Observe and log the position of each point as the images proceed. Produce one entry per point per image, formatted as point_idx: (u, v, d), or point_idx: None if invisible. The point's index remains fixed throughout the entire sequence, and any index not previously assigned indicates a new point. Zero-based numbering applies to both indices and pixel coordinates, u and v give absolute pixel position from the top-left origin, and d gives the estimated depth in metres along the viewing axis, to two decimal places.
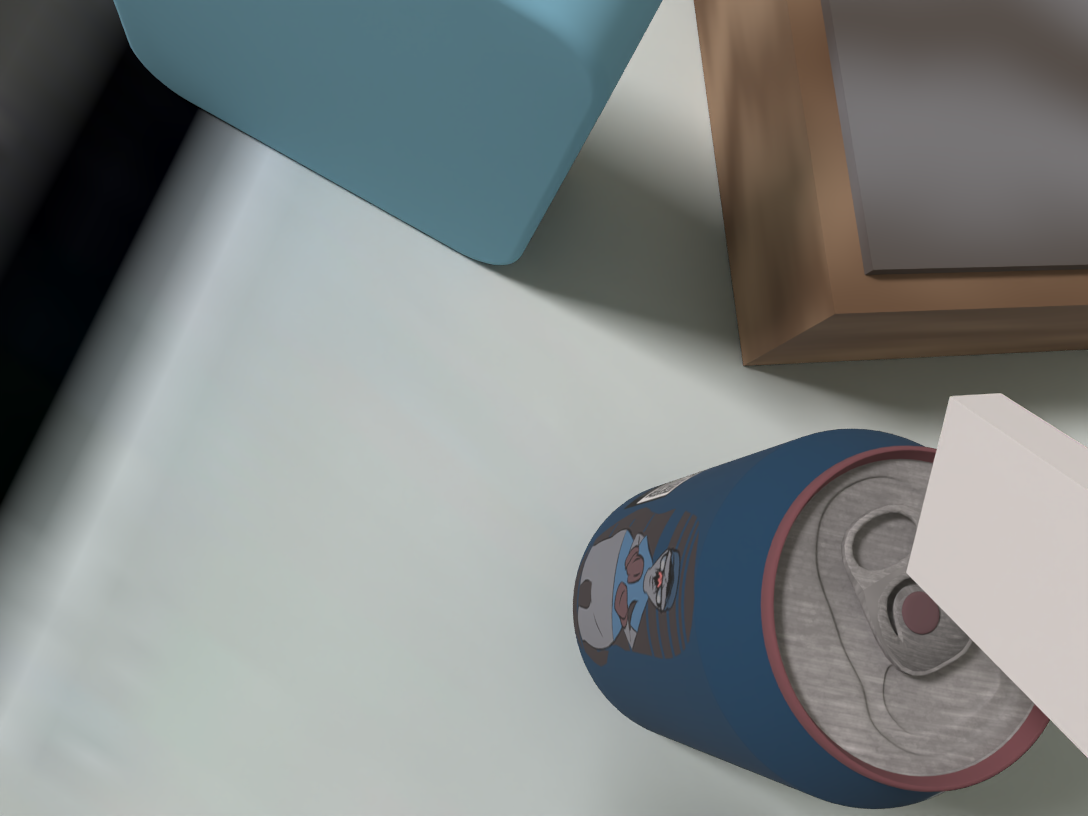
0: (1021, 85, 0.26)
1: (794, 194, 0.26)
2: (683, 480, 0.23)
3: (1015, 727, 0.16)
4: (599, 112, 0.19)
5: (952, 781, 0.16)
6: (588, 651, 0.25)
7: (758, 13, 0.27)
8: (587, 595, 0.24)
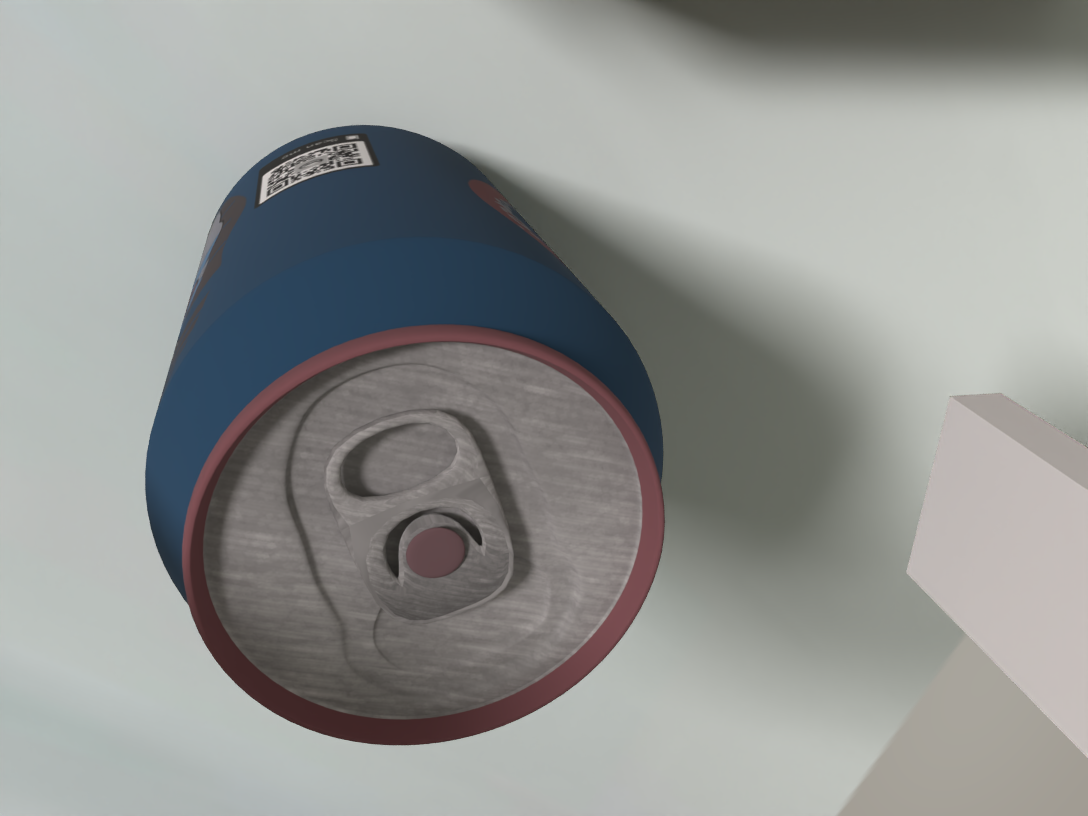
0: None
1: None
2: (294, 180, 0.16)
3: (549, 669, 0.13)
4: None
5: (440, 731, 0.13)
6: None
7: None
8: None
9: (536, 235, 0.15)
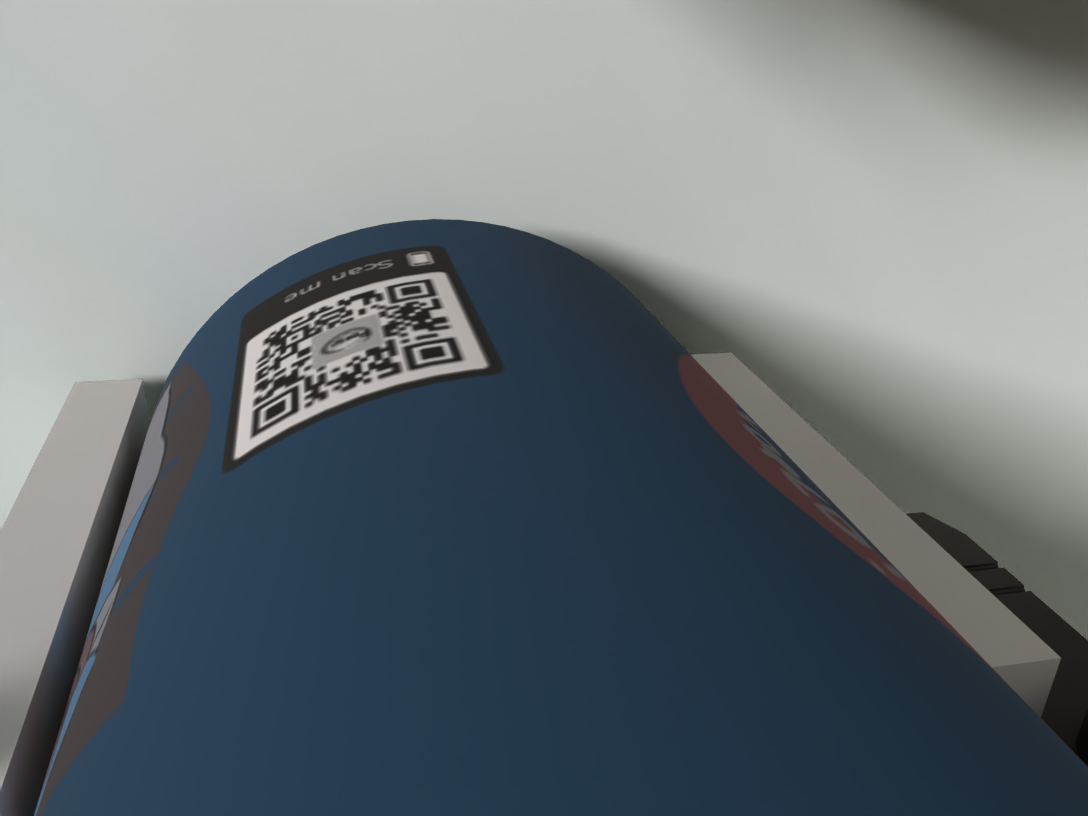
0: None
1: None
2: (312, 397, 0.07)
3: None
4: None
5: None
6: None
7: None
8: None
9: (876, 550, 0.06)
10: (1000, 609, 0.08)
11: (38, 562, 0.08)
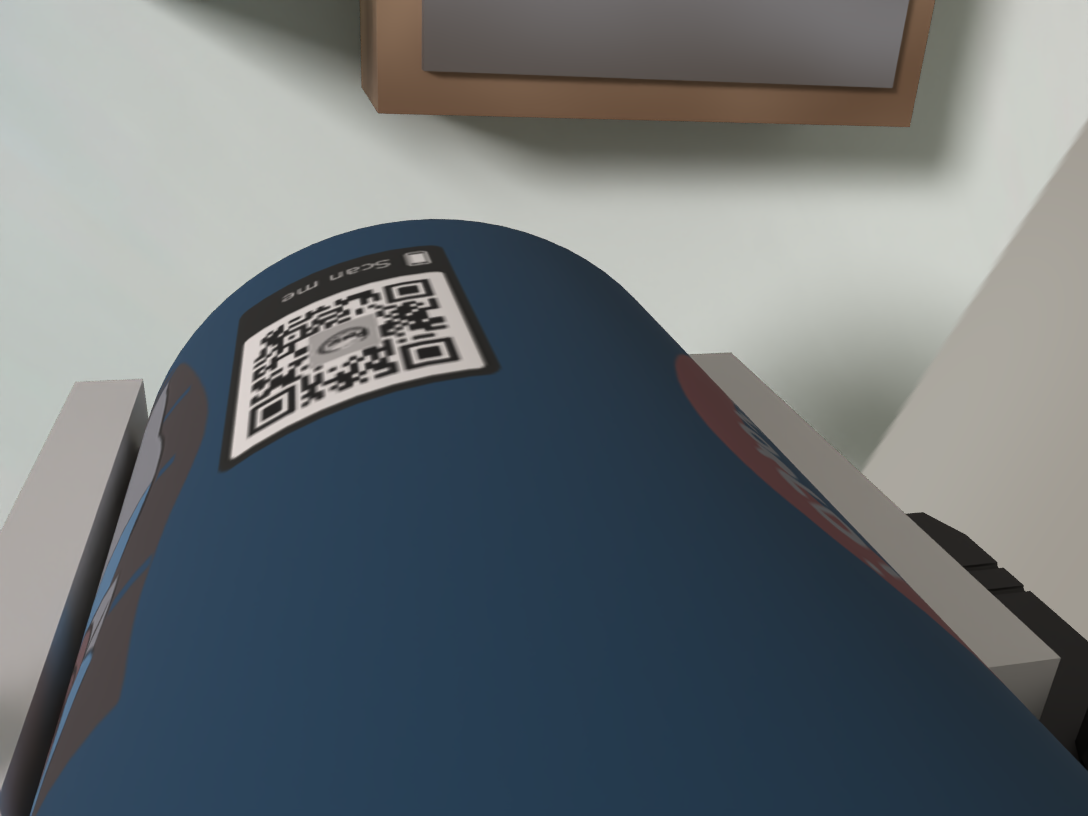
0: None
1: None
2: (309, 397, 0.07)
3: None
4: None
5: None
6: None
7: None
8: None
9: (873, 549, 0.06)
10: (999, 608, 0.08)
11: (38, 562, 0.08)
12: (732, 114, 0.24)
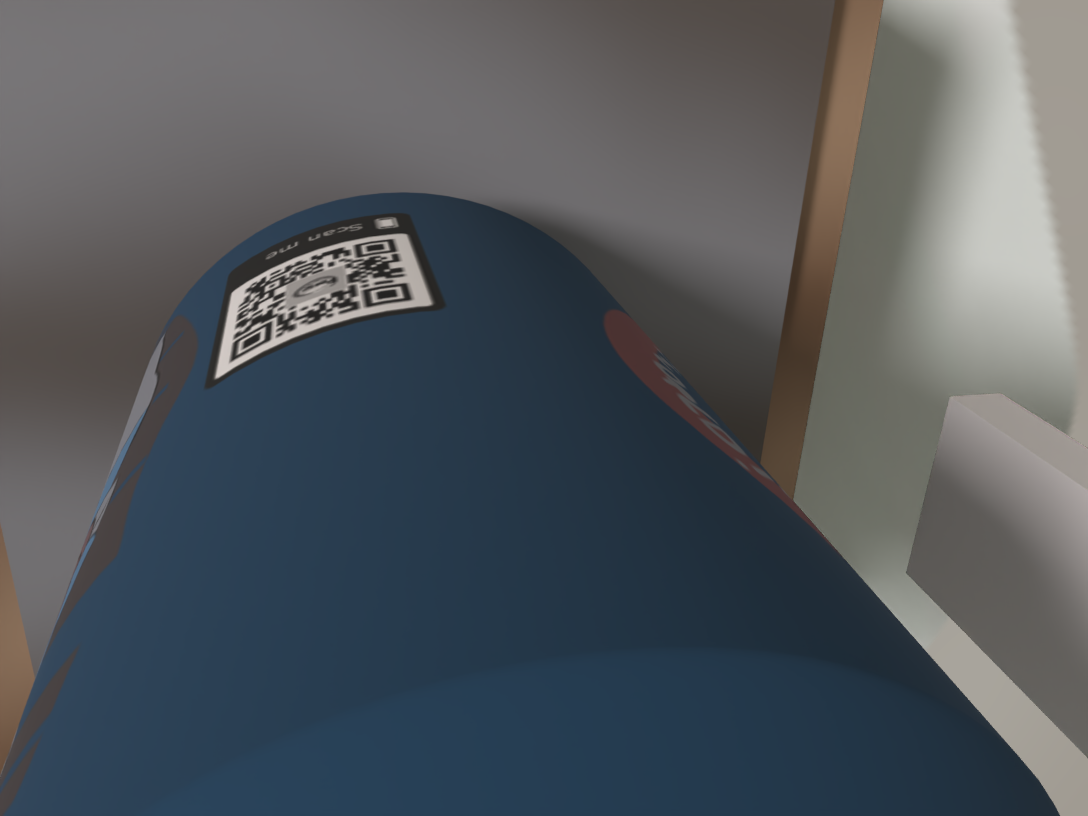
0: None
1: None
2: (283, 329, 0.08)
3: None
4: None
5: None
6: None
7: None
8: None
9: (753, 459, 0.08)
10: None
11: None
12: None
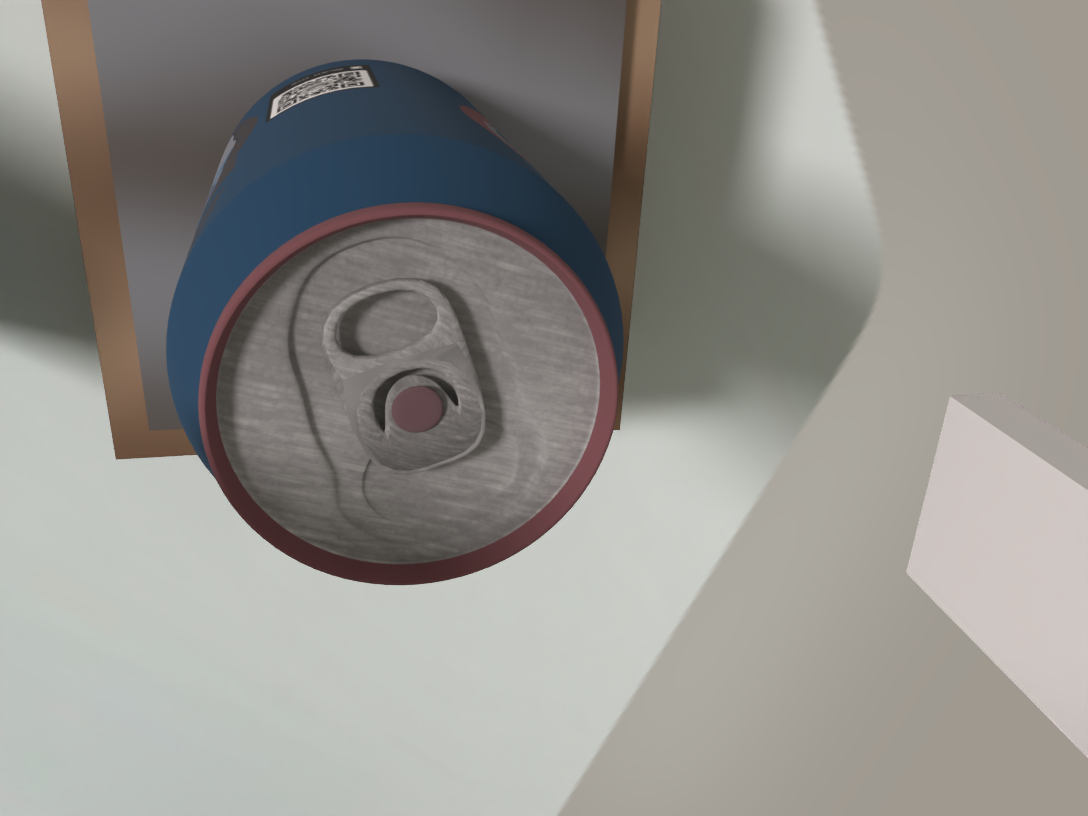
0: None
1: None
2: (302, 98, 0.17)
3: (516, 525, 0.15)
4: None
5: (418, 575, 0.14)
6: None
7: None
8: None
9: (518, 152, 0.17)
10: None
11: None
12: None
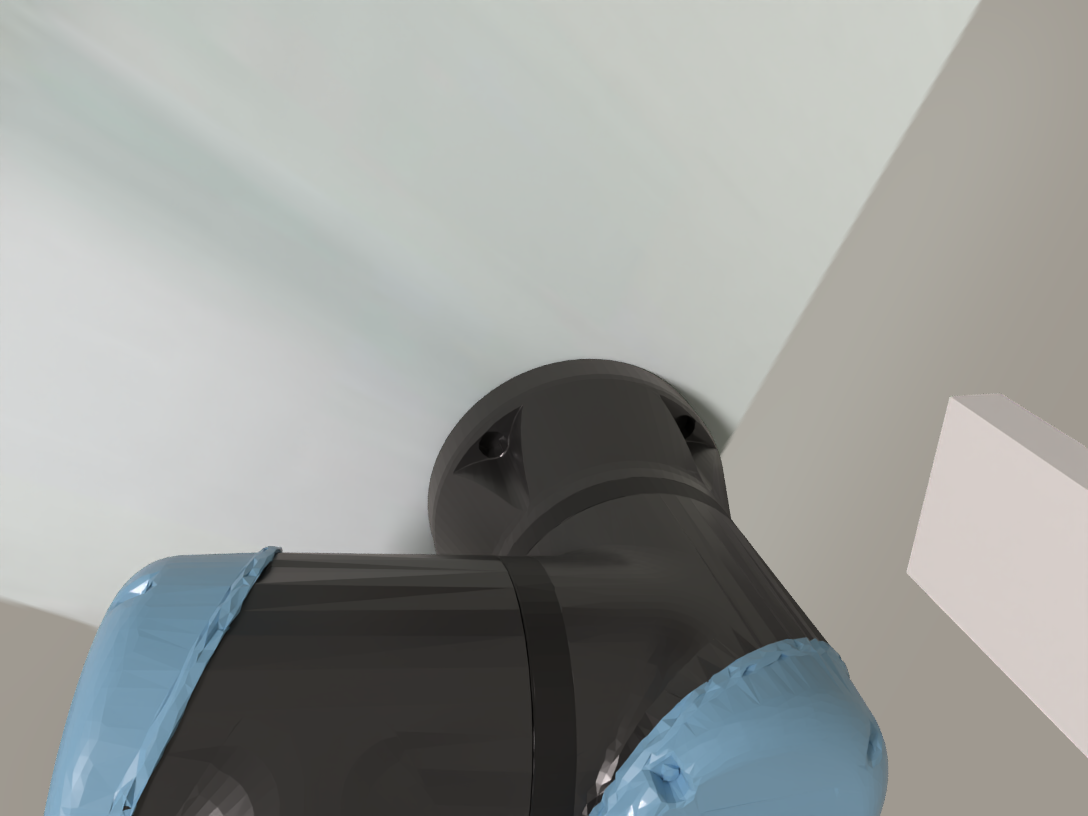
0: None
1: None
2: None
3: None
4: None
5: None
6: None
7: None
8: None
9: None
10: None
11: None
12: None
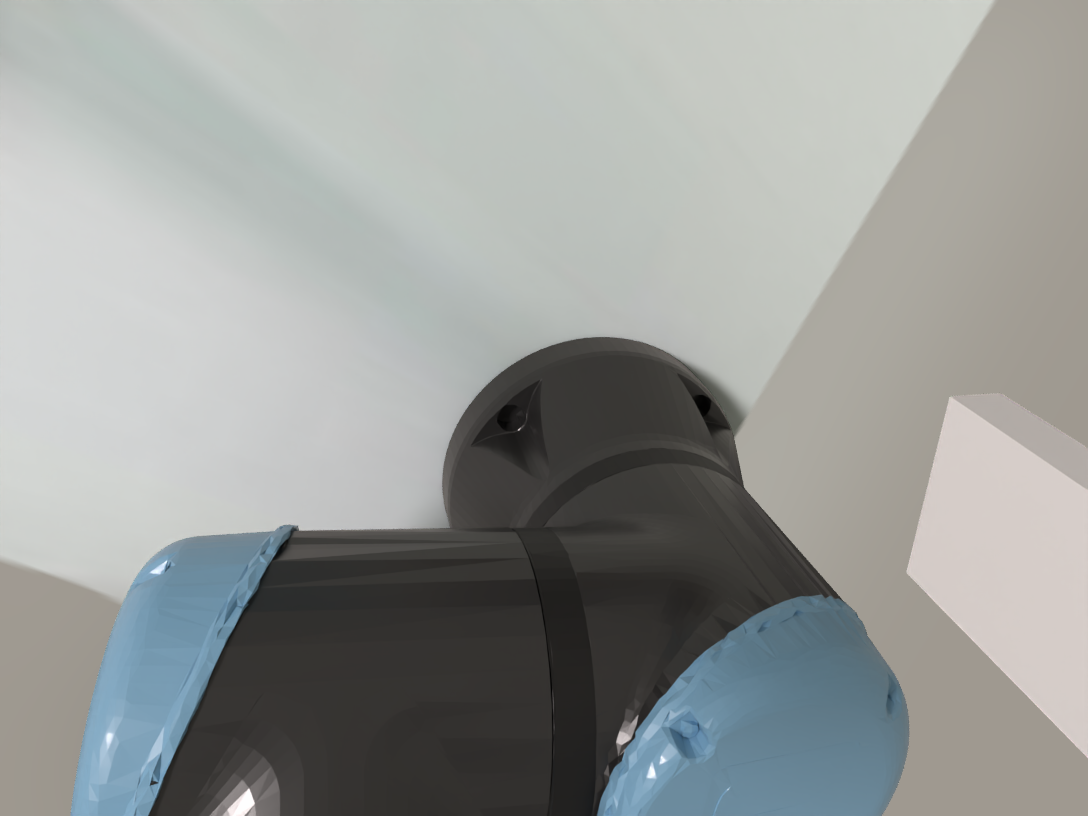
0: None
1: None
2: None
3: None
4: None
5: None
6: None
7: None
8: None
9: None
10: None
11: None
12: None
